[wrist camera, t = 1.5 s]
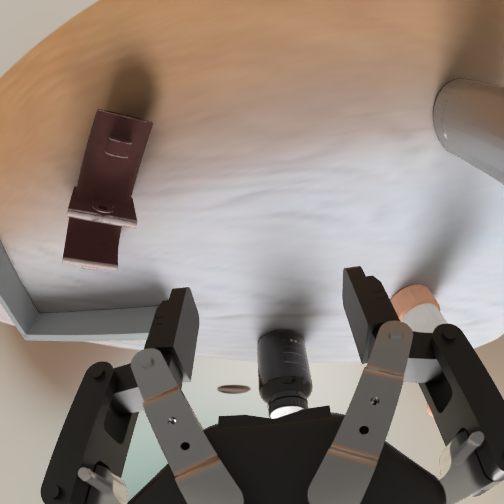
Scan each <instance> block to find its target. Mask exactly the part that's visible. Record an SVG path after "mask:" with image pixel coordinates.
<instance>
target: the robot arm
mask: <svg viewBox="0 0 504 504" xmlns="http://www.w3.org/2000/svg"><path fill="white" fill-rule="evenodd" d="M433 119H434V127H435V131H436V134H437V136H438V138H439V141H440V142H441V143H442V145H443V146H444V147H445V148H446V149H447V150H448V151H449V152H451V153H453V154H455V155H456V156H458V157H460V158H462V159H463V160H465V161H467V162H468V163H470V164H471V165H473V166H475V167H476V168H478V169H480V170H481V171H483V172H485V173H486V174H488V175H489V176H491V177H493V178H494V179H496V180H497V181H499V182H500V183H502V184H503V185H504V87H501V86H497V85H492V84H488V83H483V82H478V81H472V80H466V79H456V80H453V81H451V82H449V83H448V84H446V85H445V86H444V87H443V88H442V90H441V91H440V92H439V94H438V96H437V99H436V102H435V105H434V113H433ZM342 297H343V305H344V309H345V312H346V315H347V318H348V321H349V324H350V327H351V331H352V334H353V337H354V340H355V343H356V346H357V349H358V353H359V356H360V359H361V362H362V364H364V363H368V364H367V366H366V367H365V368H364V370H363V373H362V375H361V378H360V381H359V383H358V386H357V388H356V391H355V393H354V396H353V398H352V401H351V403H350V405H349V408H348V410H347V412H346V415H343V414H338V413H331V412H330V407H329V406H323V407H316V408H309V409H302V410H299V411H296V412H293V413H291V414H288V415H285V416H282V417H279V418H275V419H270V418H263V417H256V416H248V415H236V416H219V422H218V424H215V425H213V426H210V427H208V428H206V429H203V427H202V426H201V424H200V422H199V421H198V419H197V417H196V415H195V414H194V412H193V410H192V408H191V407H190V405H189V403H188V401H187V400H186V398H185V396H184V394H183V392H182V390H181V387H182V382H191V376H192V369H193V362H194V355H195V349H196V342H197V336H198V329H199V315H198V311H197V308H196V305H195V302H194V299H193V296H192V293H191V290H190V288H189V287H185V288H175V289H172V291H171V294H170V298H169V300H166V301H162V303H161V304H160V305H159V306H158V307H157V309H156V312H155V315H154V319H153V321H152V326H151V328H150V331H149V334H148V337H147V341H146V344H145V347H144V350H141V351H140V352H138V353H137V354H136V355H135V356H134V357H133V359H132V361H131V363H130V364H127V365H124V366H121V367H117V368H113V367H112V366H111V364H110V363H108V362H97V363H95V364H93V365H92V366H91V367H89V369H88V370H87V371H86V373H85V375H84V378H83V380H82V382H81V384H80V387H79V389H78V391H77V394H76V396H75V398H74V401H73V403H72V405H71V408H70V410H69V413H68V415H67V418H66V420H65V423H64V425H63V428H62V430H61V433H60V435H59V438H58V441H57V443H56V446H55V449H54V451H53V454H52V457H51V460H50V463H49V466H48V469H47V471H46V475H45V477H44V480H43V484H42V487H41V497H42V500H43V502H44V503H45V504H455V503H457V502H459V501H461V500H463V499H465V498H467V497H469V496H471V497H475V496H478V495H481V494H482V493H484V492H486V491H488V490H489V489H491V488H492V487H494V486H495V485H497V484H499V483H500V482H502V481H503V480H504V400H503V398H502V396H501V394H500V392H499V391H498V389H497V387H496V385H495V384H494V382H493V380H492V378H491V377H490V375H489V373H488V372H487V370H486V368H485V367H484V365H483V363H482V362H481V360H480V359H479V357H478V355H477V354H476V352H475V351H474V349H473V347H472V346H471V344H470V343H469V341H468V340H467V338H466V337H465V335H464V334H463V332H462V331H461V330H460V329H459V328H458V327H457V326H455V325H452V324H441V325H438V326H437V327H436V328H435V329H434V331H433V333H424V332H415V331H412V329H411V328H410V327H409V326H408V325H407V324H406V323H404V322H401V321H400V319H399V317H398V315H397V313H396V311H395V309H394V307H393V305H392V303H391V301H390V299H389V298H388V295H387V293H386V292H385V289H384V287H383V285H382V283H381V282H380V281H379V280H378V279H376V278H375V277H374V276H367V277H366V276H365V274H364V272H363V270H362V268H361V266H357V267H350V268H344V270H343V294H342ZM403 382H415V383H419V386H420V388H421V390H422V392H423V394H424V396H425V398H426V401H427V403H428V405H429V408H430V410H431V412H432V414H433V417H434V419H435V421H436V424H437V426H438V428H439V431H440V433H441V436H442V438H443V440H444V443H445V446H446V448H445V449H444V450H443V451H442V453H441V455H440V460H439V461H440V468H441V472H440V476H439V478H438V479H437V478H436V477H435V476H434V475H432V474H431V473H429V472H428V471H427V470H425V469H423V468H422V467H421V466H419V465H418V464H417V463H415V462H414V461H412V460H411V459H409V458H408V457H407V456H405V455H404V454H402V453H401V452H400V451H398V450H397V449H396V448H394V447H393V446H391V445H390V444H389V443H387V442H386V441H385V440H386V437H387V434H388V431H389V428H390V425H391V422H392V419H393V416H394V412H395V409H396V406H397V402H398V399H399V395H400V392H401V388H402V385H403ZM142 410H145V413H146V415H147V417H148V420H149V422H150V424H151V427H152V429H153V431H154V433H155V436H156V438H157V440H158V442H159V445H160V447H161V449H162V451H163V453H164V455H165V457H166V459H167V461H168V464H167V465H166V466H165V467H164V468H163V469H162V470H161V471H160V472H159V473H158V474H157V475H156V476H155V477H154V478H153V479H152V480H151V481H150V482H149V483H148V484H147V485H146V486H145V487H143V488H142V489H141V490H140V491H139V492H138V493H137V494H136V495H135V496H134V497H133V498H132V499H131V500H130V501H129V502H128V501H127V487H126V484H125V483H124V481H123V480H122V479H121V475H122V472H123V468H124V464H125V460H126V456H127V452H128V449H129V445H130V442H131V438H132V435H133V431H134V427H135V424H136V420H137V417H138V414H139V411H142Z"/></svg>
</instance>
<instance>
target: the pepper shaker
mask: <svg viewBox="0 0 504 504" xmlns="http://www.w3.org/2000/svg"><path fill="white" fill-rule="evenodd" d="M390 301H391V303H392V305H393V307H394V309H395V311H396V313H397V315H398V317H399V319H400V321H401V322H404V323H406V324H407V325H408V326H409V327H410V328H411V329H412V331H415V332H424V333H433V331H434V329H435V328H436V327H437V326H438V325H441V324H448V323H447V322H446V320H445V319H444V317H443V316H442V314H441V313H440V307H439V304H438V303H437V301H436V299H435V298H434V296H433V295H432V293H431V292H430V290H429V289H428V288H427V287H426V286H424V285H421V284H414V285H410V286H407V287H405V288H403V289H402V290H400V291H399V292H398V293H396V294H395V295H394V296H393V297H392V299H391V300H390ZM427 411H428V413H429V414H430V415H431V416H432V417H433V414H432V412H431V410H430V408H429V405H428V403H427Z"/></svg>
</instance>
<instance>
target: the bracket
mask: <svg viewBox="0 0 504 504" xmlns="http://www.w3.org/2000/svg"><path fill="white" fill-rule="evenodd" d="M152 125H153V123H152V122H149V121H146V120H142V119H139V118H135V117H131V116H127V115H123V114H119V113H115V112H110V111H105V110H100V109H98V110H97V113H96V116H95V119H94V122H93V126H92V129H91V133H90V136H89V140H88V143H87V147H86V151H85V155H84V159H83V163H82V167H81V172H80V176H79V180H78V185H77V187H74V189H73V193H72V196H71V200H70V203H69V207H68V212H67V217H69V222H68V229H67V235H66V241H65V248H64V254H63V261H62V262H64V263H70V264H77V265H82V268H84V269H91V270H96V269H97V268H104V269H111V270H118V245H119V238H120V232H121V228H122V226H124V227H130V228H136V225H137V218H136V213H135V208H134V204H133V199H132V197H131V195H132V191H133V187H134V184H135V180H136V176H137V173H138V169H139V166H140V163H141V159H142V156H143V153H144V150H145V146H146V143H147V140H148V137H149V134H150V131H151V128H152Z"/></svg>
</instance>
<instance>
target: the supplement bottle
mask: <svg viewBox="0 0 504 504" xmlns="http://www.w3.org/2000/svg"><path fill="white" fill-rule="evenodd" d="M257 356H258V376H259V392H260V396H261V398H262V399H263V401H265V402H266V403H267V404H268V410H269V417H270V419H275V418H279V417H282V416H285V415H288V414H291V413H293V412H296V411H299V410H302V409H308V402H307V398H308V397H309V396H310V394H311V392H312V380H311V375H310V370H309V364H308V359H307V353H306V348H305V344H304V340H303V338H302V337H301V336H300V335H299V334H298V333H296V332H294V331H290V330H276V331H272V332H270V333H268V334H266V335H265V336H263V337H262V338H261V340H260V341H259V343H258V346H257Z"/></svg>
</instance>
